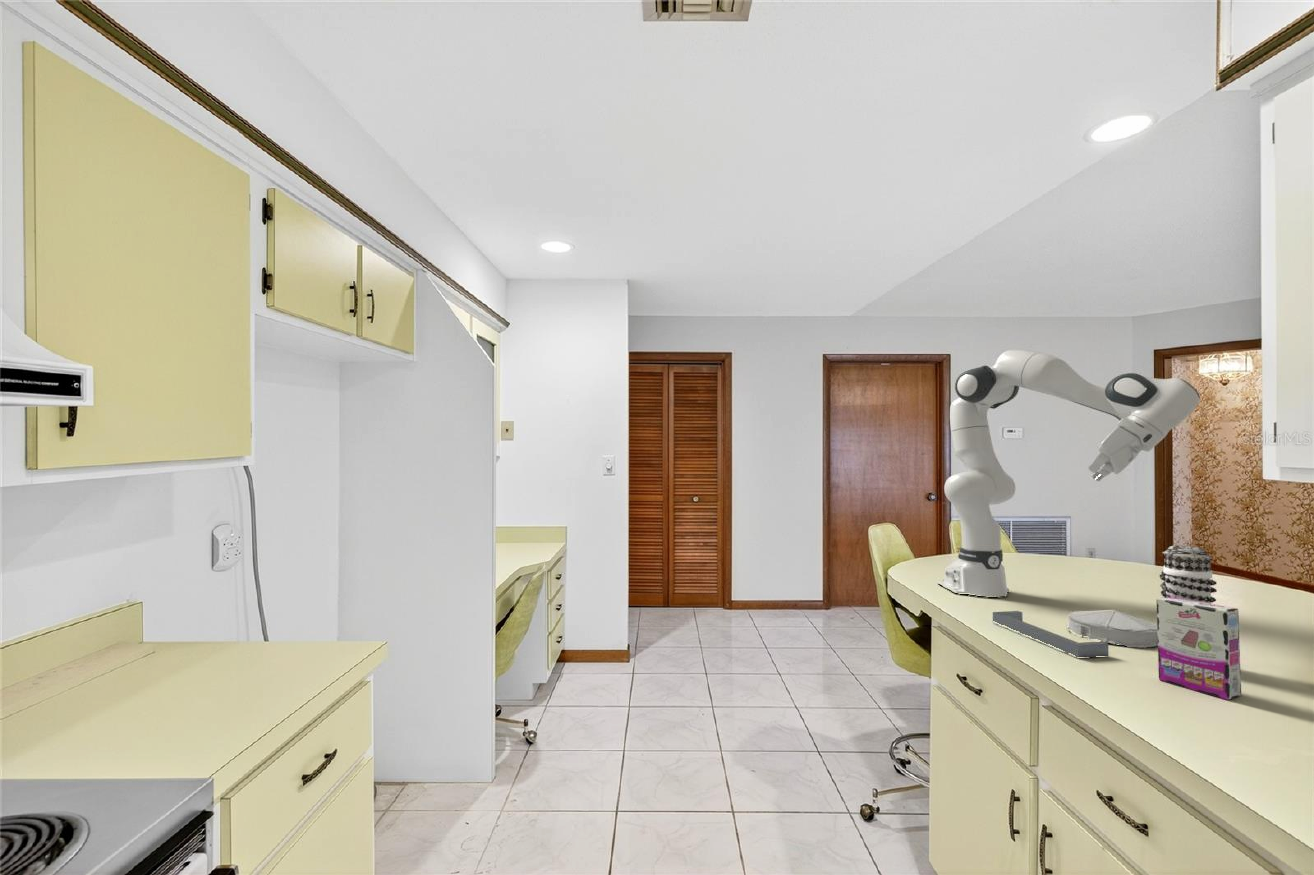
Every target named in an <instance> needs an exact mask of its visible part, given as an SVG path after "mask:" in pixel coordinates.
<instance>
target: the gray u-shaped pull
mask: <svg viewBox="0 0 1314 875" xmlns="http://www.w3.org/2000/svg"><path fill="white" fill-rule="evenodd" d="M993 621H995V622H997V623H999V624H1001V625H1005V626H1007V627H1009V628H1011V629H1013V630H1016V631H1019V632H1020V633H1022V634H1025V635H1028V636H1031V637H1032V638H1034V639H1038V640H1040V641H1042V642H1044V643H1046V644H1050V645H1052V646H1054V647H1056V648H1059V649H1061V650H1063V651H1065V652H1067V653H1071V654H1073V655H1075V656H1076V657H1096V656H1110V655H1109V643H1108V642H1103V641H1100V642H1095V641H1085V642H1077V641H1075V640H1072V639H1069V638H1067V637H1065V636H1062V635H1060V634H1058V633H1053V632H1052V631H1048V630H1046V629H1043V628H1042V627H1038V626H1037V625H1033V624H1031V623H1028V622H1025V621H1024V620H1023V612H1022V611H1019V610H1007V611H993V612H992V622H993Z"/></svg>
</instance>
